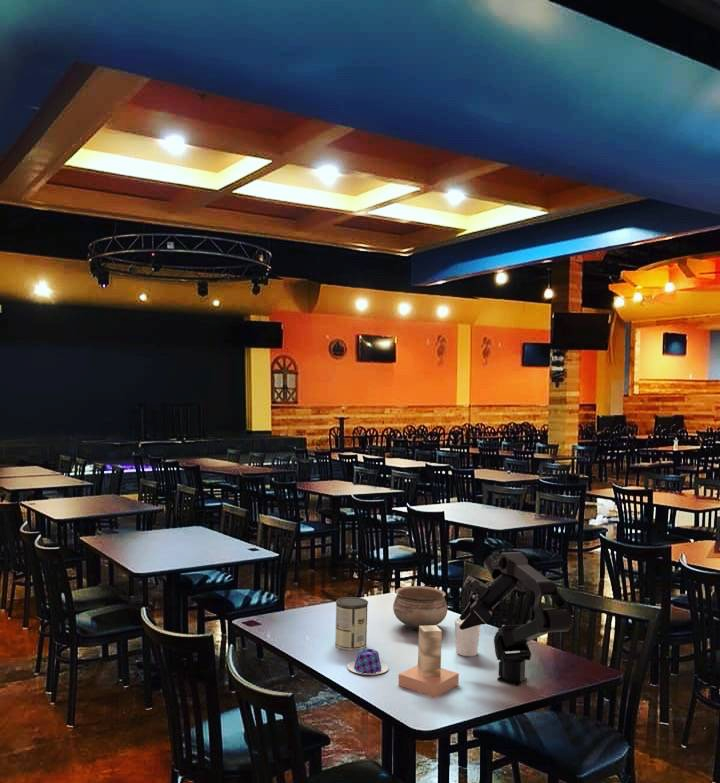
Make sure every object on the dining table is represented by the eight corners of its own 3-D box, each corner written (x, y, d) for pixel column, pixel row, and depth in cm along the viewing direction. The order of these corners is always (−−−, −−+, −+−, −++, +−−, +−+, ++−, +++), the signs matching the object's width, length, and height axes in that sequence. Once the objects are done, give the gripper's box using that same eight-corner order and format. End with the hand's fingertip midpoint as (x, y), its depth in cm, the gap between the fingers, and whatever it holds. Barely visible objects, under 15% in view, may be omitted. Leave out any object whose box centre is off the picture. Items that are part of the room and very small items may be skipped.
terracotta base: (458, 684, 196) (458, 673, 196) (435, 697, 186) (435, 685, 186) (422, 672, 203) (422, 662, 203) (398, 684, 194) (398, 674, 194)
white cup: (478, 658, 217) (479, 625, 217) (453, 655, 218) (454, 623, 218) (479, 650, 224) (480, 618, 225) (454, 647, 226) (455, 616, 226)
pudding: (366, 659, 214) (367, 641, 214) (396, 670, 206) (397, 652, 206) (338, 668, 205) (339, 650, 205) (369, 680, 197) (369, 661, 197)
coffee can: (343, 638, 232) (344, 595, 232) (371, 643, 227) (373, 599, 228) (328, 647, 222) (330, 602, 223) (358, 653, 218) (359, 607, 218)
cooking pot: (416, 642, 230) (418, 604, 230) (375, 627, 243) (376, 592, 244) (462, 627, 247) (464, 592, 248) (421, 614, 261) (422, 581, 261)
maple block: (434, 669, 198) (436, 625, 198) (440, 676, 193) (441, 630, 193) (417, 670, 197) (419, 625, 197) (422, 677, 192) (424, 631, 192)
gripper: (479, 561, 215) (442, 594, 217) (481, 575, 197) (440, 611, 198) (504, 588, 214) (467, 622, 215) (509, 605, 196) (467, 642, 197)
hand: (460, 623), depth 206 cm, fingers open, 9 cm apart
